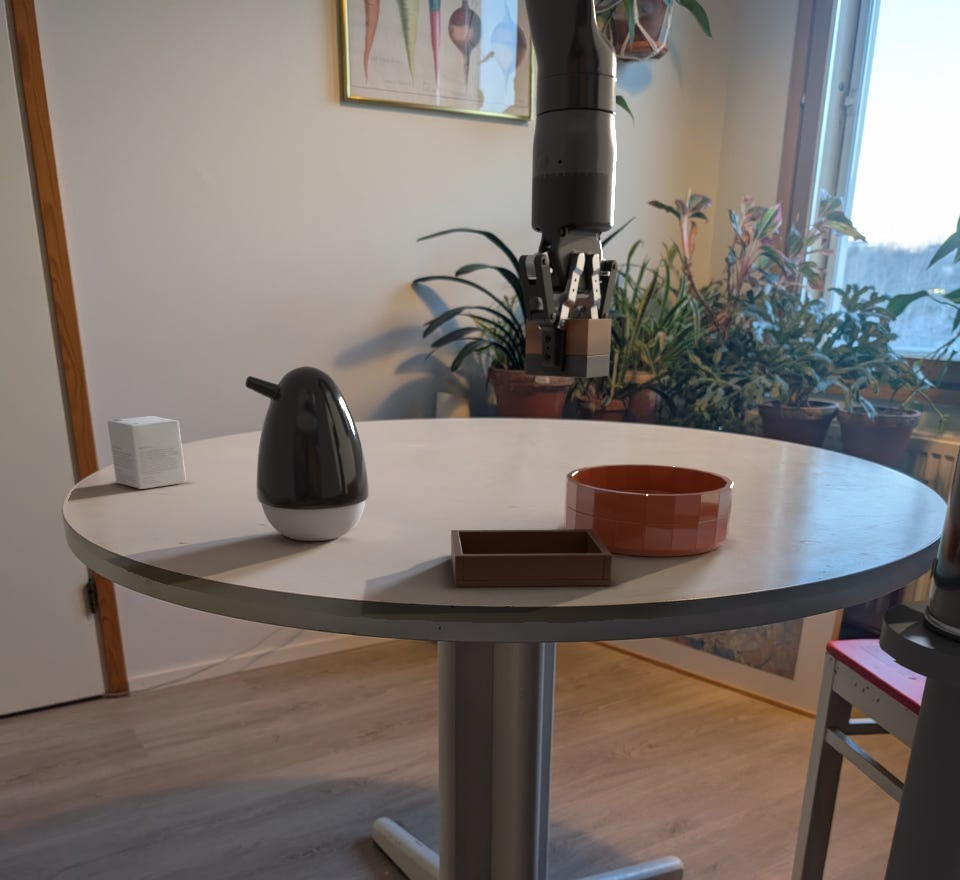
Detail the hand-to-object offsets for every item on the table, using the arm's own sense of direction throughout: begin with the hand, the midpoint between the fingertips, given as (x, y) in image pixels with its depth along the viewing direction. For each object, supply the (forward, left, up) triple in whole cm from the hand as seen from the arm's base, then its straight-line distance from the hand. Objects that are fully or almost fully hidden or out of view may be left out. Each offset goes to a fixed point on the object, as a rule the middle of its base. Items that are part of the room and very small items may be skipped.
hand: (567, 370), depth 86 cm
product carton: (+47, +17, -15) cm, 52 cm away
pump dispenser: (+14, +21, -15) cm, 29 cm away
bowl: (-10, +1, -15) cm, 18 cm away
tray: (-9, +18, -15) cm, 25 cm away
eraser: (0, 0, 0) cm, 0 cm away
